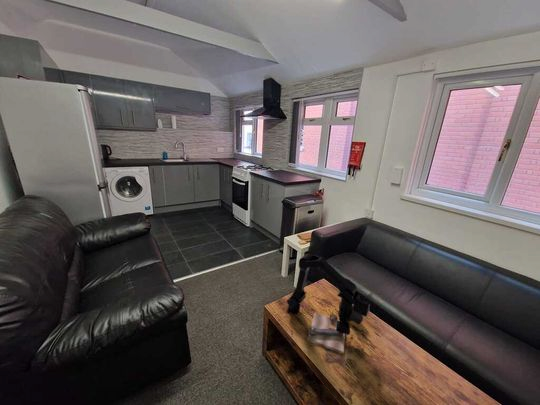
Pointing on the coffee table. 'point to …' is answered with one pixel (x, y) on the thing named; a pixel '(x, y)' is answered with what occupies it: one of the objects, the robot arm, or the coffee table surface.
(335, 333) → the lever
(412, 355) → the coffee table surface
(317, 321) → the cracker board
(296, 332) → the coffee table surface
